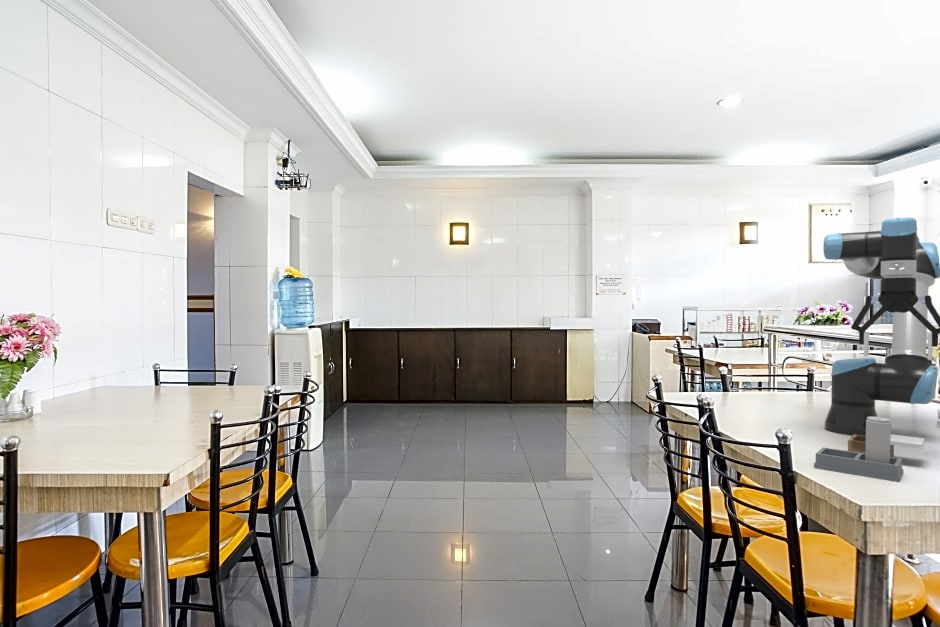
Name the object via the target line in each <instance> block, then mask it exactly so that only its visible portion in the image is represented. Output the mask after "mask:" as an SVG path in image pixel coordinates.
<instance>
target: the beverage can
mask: <svg viewBox="0 0 940 627" xmlns="http://www.w3.org/2000/svg"><path fill="white" fill-rule="evenodd" d="M891 432H892V423H891V419H890V418H888V417H883V416H878V417H874V416H871V417H867V420H866V454H865V460H866V461H873V462H879V463H886V464H890V438H891V434H892V433H891Z"/></svg>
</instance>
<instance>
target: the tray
mask: <svg viewBox="0 0 940 627" xmlns="http://www.w3.org/2000/svg"><path fill="white" fill-rule="evenodd" d="M847 451H852V452H859V453H866V436H862V435H851V437H850V438H848V439H847ZM894 455H895V445H890V457H894V458H895V456H894Z"/></svg>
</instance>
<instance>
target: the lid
mask: <svg viewBox="0 0 940 627" xmlns="http://www.w3.org/2000/svg"><path fill="white" fill-rule="evenodd" d="M925 440H926V439H925V438H924V437H917V436H916V437H915V436H910V435H909V436H906V435H901V434H900V435H899V434H894V433H893V434H892V433H891V438H890V445H894V446H897V447H905V448H910V449H911V448H912V449H918V450H919V449H920V450H922V449H923V447H924V445H925V443H926V441H925Z"/></svg>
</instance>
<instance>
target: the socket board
mask: <svg viewBox="0 0 940 627" xmlns="http://www.w3.org/2000/svg"><path fill="white" fill-rule="evenodd" d="M865 454H866V453H859V452H852V451H848V450H844V449H837V448H830V447H822V448H820V449H819V450H818V451H817V452H816V453H815V462H814V463H813V469H819V470H826V471H832V472H837V473H838V472H839V473H844V474H849V475H855V476H861V475H862V477H867V476H868V478H873V479H874V478H875V479H879V480H885V481H891V482H892V481H893V482H899V483H900V482H901V479H902V477H903V475H904V471H905V470H904V468H903V458H900V457H895V456H894V457H890V464H886V463H879V462H873V461H866V460H865Z"/></svg>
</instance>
